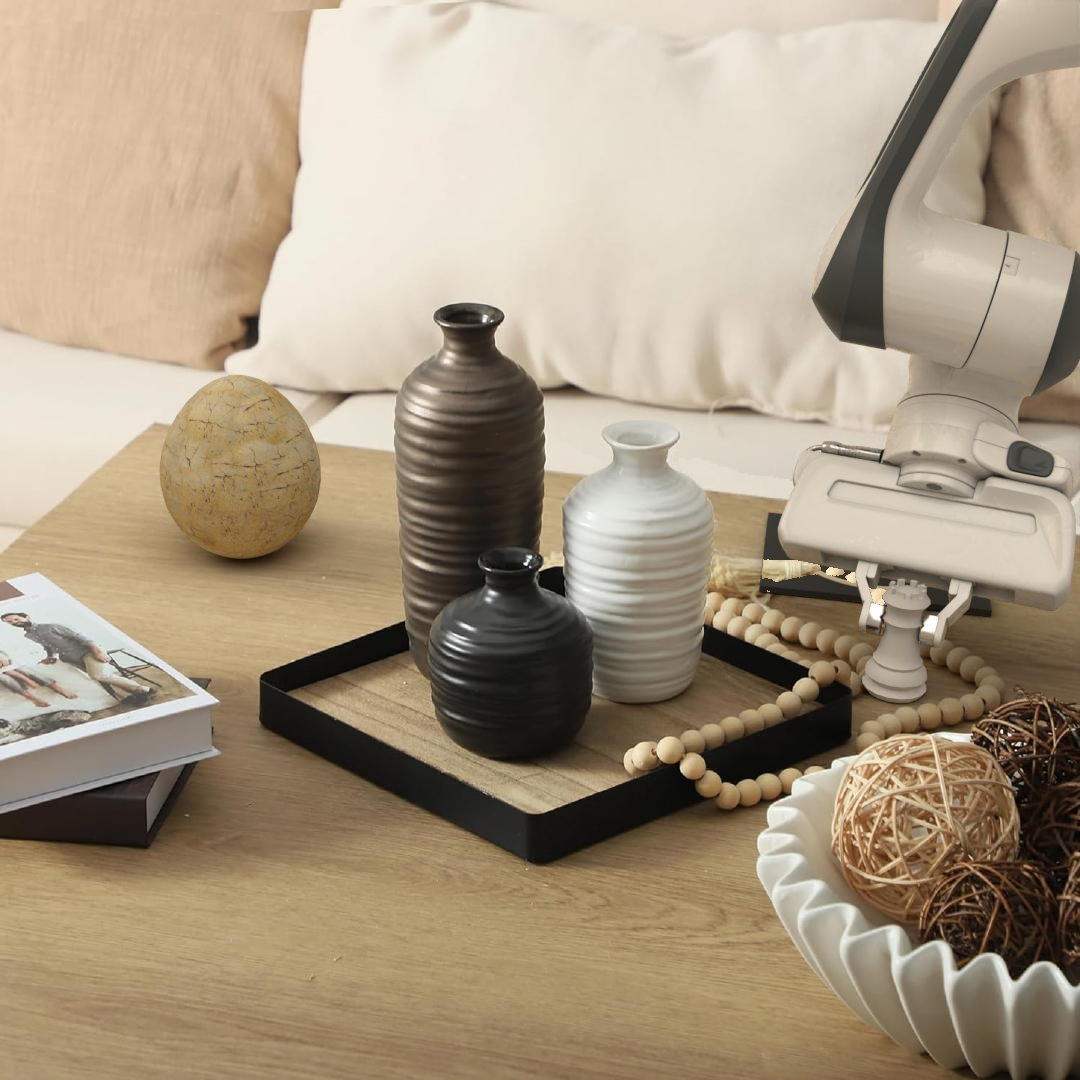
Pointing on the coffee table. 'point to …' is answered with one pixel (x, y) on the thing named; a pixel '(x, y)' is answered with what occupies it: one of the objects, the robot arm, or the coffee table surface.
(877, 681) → the rook chess piece
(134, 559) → the coffee table surface
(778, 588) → the black circle mat
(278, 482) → the fossilized egg
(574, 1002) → the coffee table surface
